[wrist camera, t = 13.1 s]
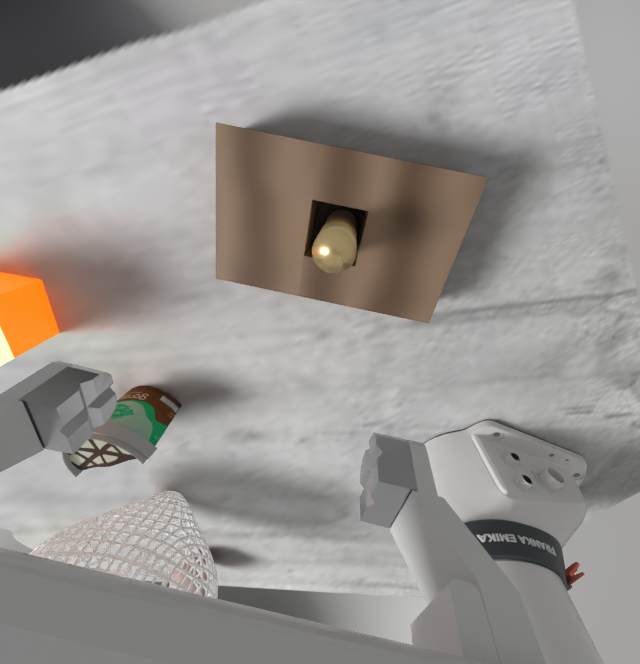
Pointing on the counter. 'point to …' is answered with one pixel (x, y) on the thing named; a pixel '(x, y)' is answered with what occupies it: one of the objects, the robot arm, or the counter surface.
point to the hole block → (346, 190)
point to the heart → (192, 523)
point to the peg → (336, 243)
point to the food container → (126, 431)
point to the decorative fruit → (188, 580)
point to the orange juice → (23, 315)
